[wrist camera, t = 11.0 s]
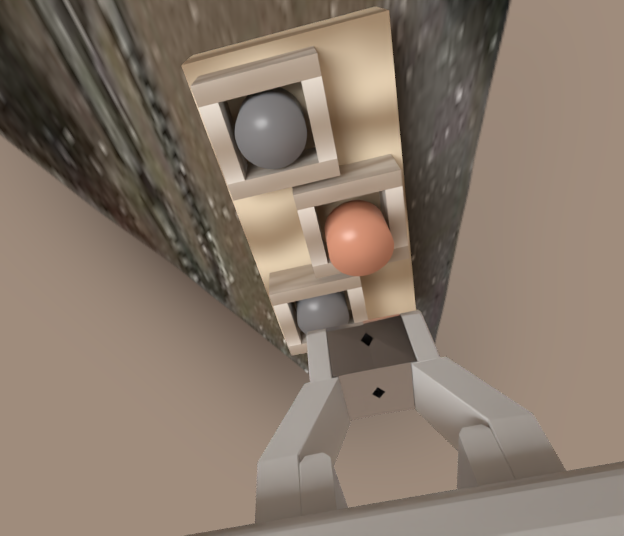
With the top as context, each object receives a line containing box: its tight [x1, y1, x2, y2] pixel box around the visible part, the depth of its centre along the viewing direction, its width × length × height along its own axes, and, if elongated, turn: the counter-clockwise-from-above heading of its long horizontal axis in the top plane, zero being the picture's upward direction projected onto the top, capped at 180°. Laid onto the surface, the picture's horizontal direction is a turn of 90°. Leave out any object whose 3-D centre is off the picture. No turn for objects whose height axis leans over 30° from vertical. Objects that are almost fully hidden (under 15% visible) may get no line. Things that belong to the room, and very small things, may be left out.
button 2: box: [296, 291, 349, 334], centre depth 35 cm, size 4×4×3 cm
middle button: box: [324, 200, 394, 276], centre depth 28 cm, size 4×4×3 cm
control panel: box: [181, 6, 416, 355], centre depth 32 cm, size 25×13×7 cm, turn 13°
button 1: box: [235, 87, 307, 169], centre depth 26 cm, size 4×4×3 cm
